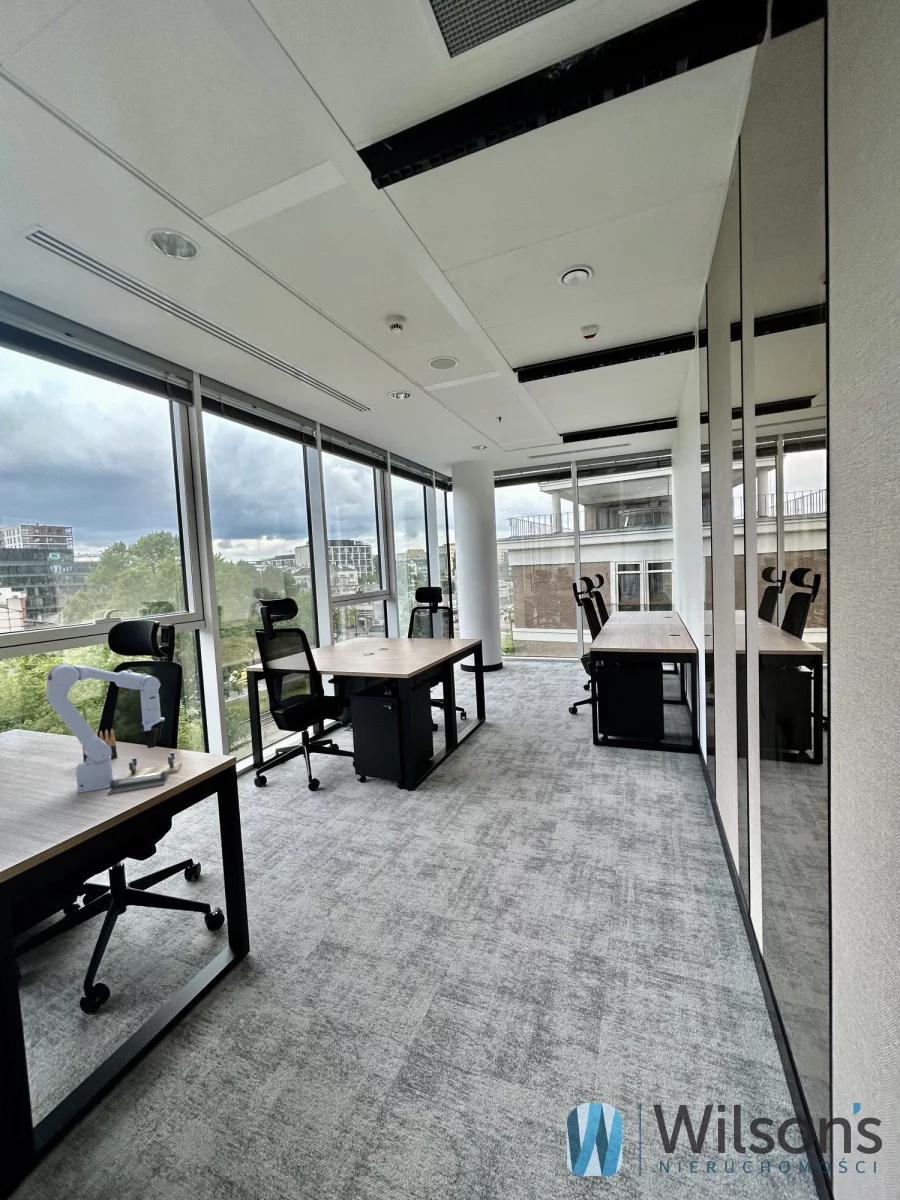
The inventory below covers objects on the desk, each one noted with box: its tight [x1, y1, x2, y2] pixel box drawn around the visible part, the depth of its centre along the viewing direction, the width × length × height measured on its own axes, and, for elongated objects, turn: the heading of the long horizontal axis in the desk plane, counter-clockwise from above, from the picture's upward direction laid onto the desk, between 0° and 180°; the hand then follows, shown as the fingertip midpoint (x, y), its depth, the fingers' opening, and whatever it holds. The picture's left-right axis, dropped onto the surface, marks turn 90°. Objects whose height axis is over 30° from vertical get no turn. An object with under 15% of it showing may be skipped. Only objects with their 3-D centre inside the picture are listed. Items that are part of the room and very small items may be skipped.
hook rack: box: [123, 751, 182, 778], centre depth 171 cm, size 17×7×6 cm, turn 110°
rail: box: [109, 771, 167, 790], centre depth 161 cm, size 16×3×3 cm, turn 110°
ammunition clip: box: [82, 728, 118, 763], centre depth 186 cm, size 11×2×12 cm, turn 127°
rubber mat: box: [107, 774, 169, 796], centre depth 161 cm, size 16×8×1 cm, turn 110°
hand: (153, 744), depth 175 cm, fingers open, 7 cm apart
